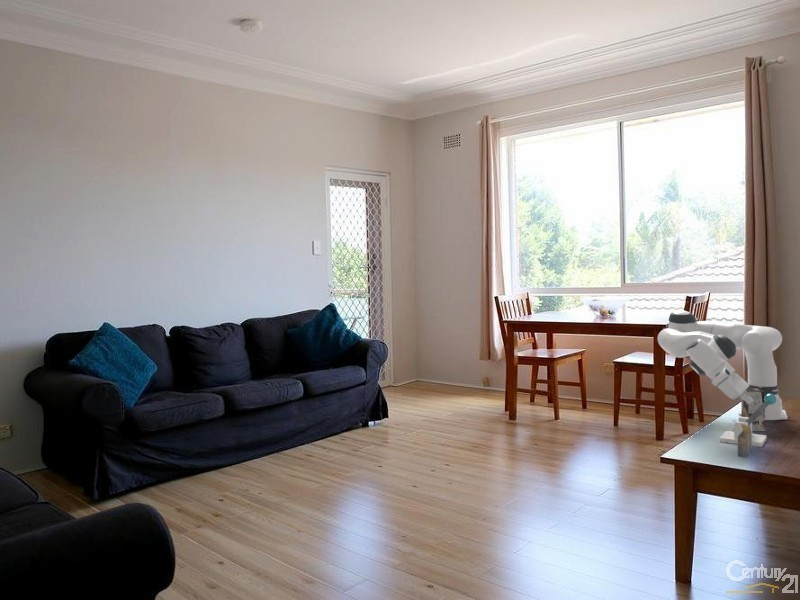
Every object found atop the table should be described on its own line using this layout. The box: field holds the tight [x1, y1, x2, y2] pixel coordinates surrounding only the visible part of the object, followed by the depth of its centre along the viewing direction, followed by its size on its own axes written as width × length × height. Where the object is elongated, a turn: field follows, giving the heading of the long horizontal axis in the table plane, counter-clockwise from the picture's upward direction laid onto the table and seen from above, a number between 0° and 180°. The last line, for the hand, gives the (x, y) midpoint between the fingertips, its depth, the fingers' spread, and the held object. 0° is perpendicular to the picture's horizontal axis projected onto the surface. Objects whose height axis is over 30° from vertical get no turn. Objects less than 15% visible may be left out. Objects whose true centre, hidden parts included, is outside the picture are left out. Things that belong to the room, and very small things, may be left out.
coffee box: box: [740, 388, 766, 432], centre depth 262 cm, size 9×6×16 cm
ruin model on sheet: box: [737, 424, 753, 458], centre depth 231 cm, size 11×3×10 cm, turn 143°
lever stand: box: [719, 416, 768, 448], centre depth 246 cm, size 12×14×8 cm
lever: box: [745, 394, 777, 427], centre depth 243 cm, size 6×4×18 cm
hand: (751, 402), depth 243 cm, fingers closed
